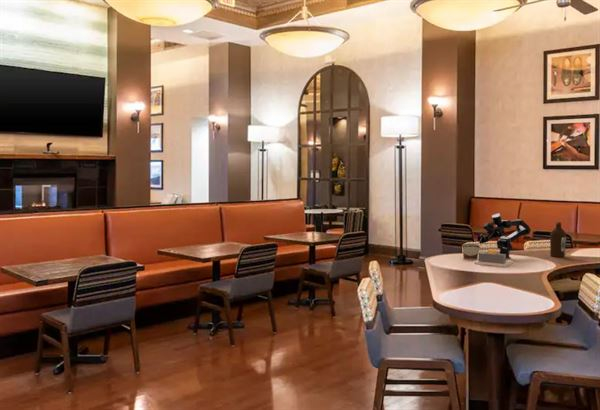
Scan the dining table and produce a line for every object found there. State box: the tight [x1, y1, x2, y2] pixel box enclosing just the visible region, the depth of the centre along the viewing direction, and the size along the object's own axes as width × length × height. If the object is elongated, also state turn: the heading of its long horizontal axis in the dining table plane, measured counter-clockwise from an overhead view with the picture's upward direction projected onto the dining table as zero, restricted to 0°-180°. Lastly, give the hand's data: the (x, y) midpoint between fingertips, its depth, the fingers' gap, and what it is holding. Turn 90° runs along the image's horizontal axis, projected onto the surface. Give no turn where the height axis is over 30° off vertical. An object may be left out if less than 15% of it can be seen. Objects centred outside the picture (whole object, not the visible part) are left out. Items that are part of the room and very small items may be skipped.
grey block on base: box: [474, 251, 514, 268], centre depth 373 cm, size 18×20×7 cm
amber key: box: [487, 248, 498, 254], centre depth 369 cm, size 5×5×3 cm
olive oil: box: [549, 221, 567, 258], centre depth 406 cm, size 11×11×25 cm
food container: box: [461, 243, 481, 260], centre depth 393 cm, size 12×6×10 cm, turn 84°
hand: (484, 241), depth 382 cm, fingers open, 9 cm apart
